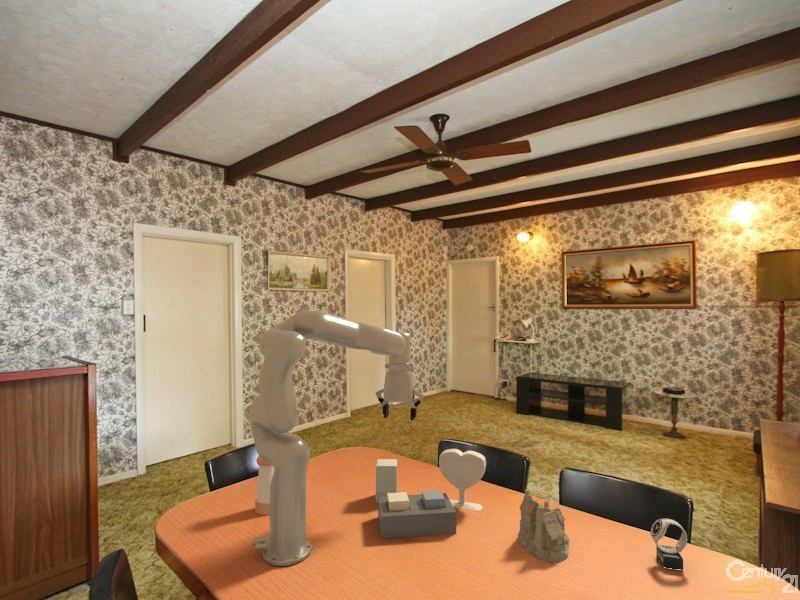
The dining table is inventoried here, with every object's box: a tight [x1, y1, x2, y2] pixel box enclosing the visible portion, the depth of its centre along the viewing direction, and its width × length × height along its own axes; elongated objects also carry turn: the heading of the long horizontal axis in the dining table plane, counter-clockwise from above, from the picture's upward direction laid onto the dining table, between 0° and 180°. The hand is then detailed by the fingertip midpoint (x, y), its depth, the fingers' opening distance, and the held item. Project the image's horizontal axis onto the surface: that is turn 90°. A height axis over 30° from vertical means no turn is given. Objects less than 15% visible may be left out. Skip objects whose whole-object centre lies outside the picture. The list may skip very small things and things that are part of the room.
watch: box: [650, 518, 688, 571], centre depth 108 cm, size 6×8×11 cm
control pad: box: [377, 492, 457, 540], centre depth 127 cm, size 22×13×6 cm, turn 98°
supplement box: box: [375, 458, 398, 504], centre depth 145 cm, size 7×7×13 cm
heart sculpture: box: [438, 448, 487, 512], centre depth 141 cm, size 16×5×18 cm, turn 70°
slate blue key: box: [421, 489, 445, 509], centre depth 128 cm, size 6×6×5 cm
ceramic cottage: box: [517, 488, 570, 563], centre depth 117 cm, size 16×16×15 cm
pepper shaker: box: [254, 455, 274, 516], centre depth 137 cm, size 7×7×19 cm
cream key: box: [387, 491, 409, 511], centre depth 127 cm, size 6×6×5 cm
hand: (399, 418), depth 142 cm, fingers open, 9 cm apart
